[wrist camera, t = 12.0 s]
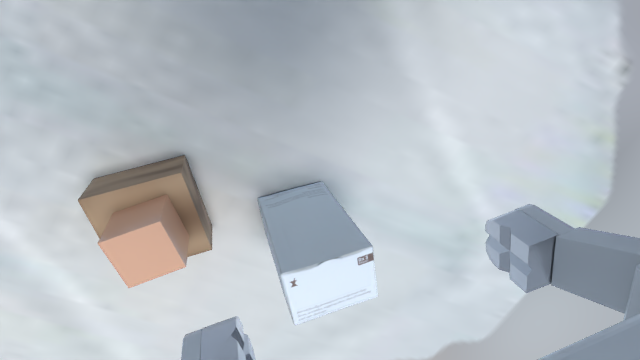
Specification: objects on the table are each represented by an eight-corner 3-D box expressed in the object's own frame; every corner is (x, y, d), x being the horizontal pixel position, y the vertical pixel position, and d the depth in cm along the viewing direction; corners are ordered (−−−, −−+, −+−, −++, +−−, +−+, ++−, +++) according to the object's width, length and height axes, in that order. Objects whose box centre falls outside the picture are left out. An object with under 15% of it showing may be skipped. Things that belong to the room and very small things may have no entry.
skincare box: (266, 237, 44) (289, 331, 31) (255, 194, 41) (275, 277, 28) (332, 219, 45) (380, 302, 32) (325, 176, 42) (375, 248, 29)
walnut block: (94, 177, 36) (77, 200, 31) (185, 154, 37) (181, 172, 33) (131, 248, 40) (121, 277, 36) (212, 224, 41) (211, 249, 37)
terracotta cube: (113, 212, 33) (97, 243, 28) (167, 194, 33) (160, 221, 29) (139, 254, 35) (128, 288, 31) (189, 235, 36) (186, 266, 31)
